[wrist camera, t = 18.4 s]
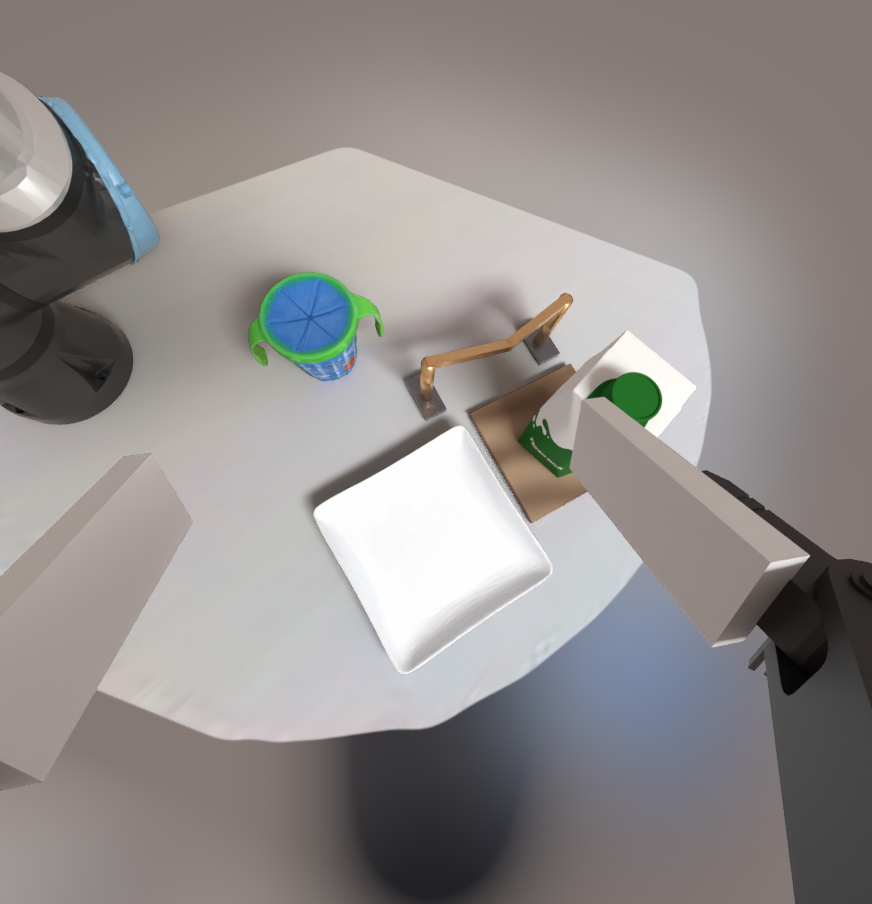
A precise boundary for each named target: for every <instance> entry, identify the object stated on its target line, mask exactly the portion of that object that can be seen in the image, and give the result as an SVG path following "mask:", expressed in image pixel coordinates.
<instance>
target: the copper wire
mask: <svg viewBox="0 0 872 904" xmlns="http://www.w3.org/2000/svg"><path fill="white" fill-rule="evenodd" d="M572 302H573V298H572V296H571V295H570V294H567V293H564V294H562V295H561V296H560V297H559V299H557V300H556V301H555V302H554V303H552V304H551V305H550V306H549V307H547V308H546V309H545V310H544V311H542V312H541V313H540V314H538V315H537V316H536V317H535V318H533V319H532V320H531V321H530V322H528V323H526V324H524V325H522V326H520V327H519V329H518V331H517V332H516V333H514V334H513V335H512V336H510V337H509V338H508V339H505V340H500V341H496V342H492V343H487V344H483V345H478V346H474V347H470V348H465V349H461V350H456V351H452V352H448V353H443V354H439V355H435V356H430V357H425V358H423V359H422V361H421V373H419V374H417V375H415V376H413V377H411V378H409V379H407V380H405V383H406V385H407V387H408V389H409V391H410V392H411V394H412V396H413V398H414V400H415V402H416V403H417V405H418V407H419V409H420V411H421V413H422V414H423V416H424V418H425V420H426V421H427V420H429V419H431V418H433V417H435V416H437V415H439V414H441V413H443V412H445V411H446V407H445V405H444V403H443V402H442V400H441V398H440V396H439V394H438V393H437V391H436V389H435V387H434V386H433V382H434V374H435V368H439V367H443V366H447V365H452V364H456V363H460V362H465V361H469V360H473V359H478V358H482V357H486V356H490V355H495V354H499V353H503V352H508V351H511V350H512V349H513V348H514V347H515V346H517V345H518V344H519V343H520V342H522V341H523V340H524V341H525V343H526V345H527V346H528V348H529V349H530V351H531V353H532V354H533V356H534V357H535V359H536V361H537V362H538V364H539V365H541V364H543V363H545V362H547V361H549V360H551V359H553V358H555V357H557V356H558V355H559V351H558V349H557V348H556V346H555V345H554V343H553V342H552V340H551V338H550V337H549V336H550V334H551V333H552V331H553V330H554V328H555V327H556V326H557V324H558V323H559V321H560V320H561V318H562V317H563V315H564V314H565V313H566V311H567V310H568V308H569V307H570V305H571V304H572Z"/></svg>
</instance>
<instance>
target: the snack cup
mask: <svg viewBox="0 0 872 904" xmlns="http://www.w3.org/2000/svg"><path fill="white" fill-rule="evenodd" d="M364 316H374V318H375V327H376V330H377V333H378V335H379V336H380V337H382V335H383V324H382V320H381V318H380V314H379V311H378V309H377V307H376V306H375V305H374V304H373V303H372V302H371V301H370V300H368V299H366V298H364V297H362V296H358V295H354V294H351V293H350V292H349V291H348V289H347V288H346V287H345V286H344V285H343V284H342V283H340V282H339V281H338V280H336V279H334V278H332V277H330V276H328V275H325V274H320V273H313V272H306V273H299V274H295V275H292V276H289V277H287V278H285V279H283V280H281V281H280V282H278V283H277V284H275V285H274V286H273V287H272V288H271V289H270V290H269V292H268V293H267V294H266V296H265V298H264V299H263V301H262V304H261V307H260V313H259V317H258V318H257V319H256V320H255V321H254V322H253V323H252V324H251V326H250V328H249V331H248V340H249V343H250V349H251V351H252V354H253V355H254V357H255V358H256V360H257V361H258V362H259V363H260V364H262V365H263V366H266V365H268V360H267V355H266V353H265V350H264V349H263V348H261V347H260V346H259V345H257V343H258V342H267V343H269V344H270V345H271V346H272V348H273V349H274V350H276V351H277V352H278V353H279V354H281V355H282V356H284V357H286V358H287V359H290V360H291V361H293V362H294V363H295V364H296V365H297V366H299V367H300V368H301V369H302V370H304V371H305V372H306V373H307V374H309V375H311V376H312V377H314V378H317V379H318V380H321V381H328V380H335V379H339V378H341V377H343V376H344V375H347V374H348V373H349V372H350V371H351V369H352V368H353V366H354V364H355V361H356V357H357V336H356V330H357V326H358V321H359V319H360V318H361V317H364Z"/></svg>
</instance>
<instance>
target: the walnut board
mask: <svg viewBox="0 0 872 904" xmlns="http://www.w3.org/2000/svg"><path fill="white" fill-rule="evenodd" d="M575 373H576V371H575V370H574V368H573V367H572V365H571V364H568V365H566V366H564V367H562V368H560V369H558V370H556V371H554V372H552V373H550V374H548V375H546V376H544V377H542V378H540V379H538V380H536V381H534V382H532V383H530V384H528V385H526V386H524V387H522V388H520V389H518V390H516V391H514V392H512V393H510V394H508V395H506V396H504V397H502V398H500V399H498V400H496V401H494V402H492V403H490V404H488V405H486V406H484V407H482V408H480V409H478V410H476V411H474V412H472V413H470V415H469V416H470V418H471V420H472V422H473V423H474V425H475V427H476V429H477V430H478V432H479V434H480V436H481V437H482V439H483V441H484V443H485V444H486V446H487V448H488V450H489V452H490V453H491V455H492V457H493V459H494V460H495V462H496V464H497V466H498V467H499V469H500V471H501V473H502V474H503V476H504V478H505V480H506V481H507V483H508V485H509V487H510V488H511V490H512V492H513V494H514V495H515V497H516V499H517V501H518V502H519V504H520V506H521V508H522V509H523V511H524V513H525V515H526V516H527V518H528V520H529V522H530V523H533V522H535V521H537V520H538V519H540V518H542V517H544V516H545V515H547V514H549V513H551V512H552V511H554V510H556V509H558V508H559V507H561V506H563V505H565V504H566V503H568V502H570V501H572V500H574V499H575V498H577V497H579V496H581V495H582V494H584V493H586V492H588V491H587V490H586V488H585V487H584V486H583V485H582V483H581V482H580V481H579V480H578V478H577V477H576V476H575V475H574V473H570V474H568V475H565V476H562V477H559V478H557V477H556V476H555V475H554V474H553V473H552V472H550V471H549V470H548V469H547V468H546V467H545V466H544V465H543V464H542V463H540V462H539V461H538V460H537V459H536V458H535V457H534V456H533V455H531V454H530V453H529V452H528V451H527V450H526V449H525V448H524V447H523V446H521V445H520V444H519V443H518V442H517V441H518V440H519V438H520V437H521V435H522V434H523V432H524V431H525V429H526V427H527V426H528V424H529V423H530V421H531V419H532V418H533V417H534V415H535V414H536V413H537V412H538V411H539V409H540V408H541V407H542V406H543V405H544V404H545V403H546V401H547V400H548V399H549V398H550V397H551V396H552V395H553V394H554V393H555V392H556V391H557V390H558V389H559V388H560V387H561V386H562V385H563V384H564V383H565V382H566V381H567V380H568V379H569V378H571V377H572V376H573V375H574V374H575Z"/></svg>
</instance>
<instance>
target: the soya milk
mask: <svg viewBox="0 0 872 904" xmlns="http://www.w3.org/2000/svg"><path fill="white" fill-rule="evenodd" d="M695 388H696V386H695V385H694V384H693V383H691V382H690V381H689V380H688V379H687V378H685V377H684V376H683V375H682V374H680V373H679V372H678V371H677V370H676V369H674V368H673V367H672V366H671V365H669V364H668V363H667V362H666V361H665V360H663V359H662V358H661V357H660V356H658V355H657V354H656V353H655V352H654V351H652V350H651V349H650V348H649V347H647V346H646V345H645V344H644V343H643V342H641V341H640V340H639V339H638V338H636V337H635V336H634V335H633V334H632V333H630V332H629V331H628V330H627V331H625V332H624V333H623V334H622V335H621V336H619V337H618V338H617V339H616V340H615V341H614V342H612V343H611V344H610V345H609V346H608V347H606V348H605V349H604V350H603V351H601V352H600V353H598V354H597V355H595V356H593V357H592V358H591V359H589V360H588V361H587V362H586V363H585V364H584V365H583V366H582V367H581V368H580V369H579V370H578V371H577V372H576V373H575V374H574V375H573V376H572V377H571V378H569V379H568V380H567V381H566V382H565V383H564V384H563V385H562V386H561V387H560V388H559V389H558V390H557V391H556V392H555V393H554V394H553V395H552V396H551V397H550V398H549V399H548V400H547V401H546V403H545V404H544V405H543V406H542V407H541V408H540V409H539V411H538V412H537V413H536V414H535V415H534V417H533V418H532V419H531V421H530V423H529V424H528V426H527V427H526V429H525V431H524V432H523V434H522V435H521V437H520V438H519V440H518V441H517V442H518V443H519V444H520V445H521V446H523V447H524V448H525V449H526V450H527V451H528V452H529V453H530V454H531V455H533V456H534V457H535V458H536V459H537V460H538V461H539V462H540V463H542V464H543V465H544V466H545V467H546V468H547V469H548V470H549V471H550V472H552V473H553V474H554V475H555V476H556V477H557V478H559V477H562V476H565V475H568V474H570V473H573V472H572V471H571V469H570V462H571V457H572V452H573V446H574V441H575V436H576V430H577V425H578V419H579V414H580V409H581V403H582V400H584V399H592V398H600V397H605V398H606V399H608V400H609V401H610V402H612V403H613V404H614V405H616V406H617V407H618V408H619V409H621V410H622V411H623V412H625V413H626V414H627V415H629V416H630V417H631V418H632V419H634V420H635V421H636V422H638V423H639V424H640V425H642V426H643V427H644V428H645V429H647V430H648V431H649V432H651V433H652V434H653V435H654V436H656V437H658V436H659V434H660V433H661V432H662V431H663V430H664V428H665V427H666V426H667V425H668V424H669V422H670V421H671V420H672V419H673V418H674V417H675V416H676V415H677V413H678V412H679V411H680V410H681V408H682V407H681V406H682V405H683V403H684V402H685V401H686V400H687V398H688V397H689V396H690V395H691V393H692V392H693V391H694V390H695Z"/></svg>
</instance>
